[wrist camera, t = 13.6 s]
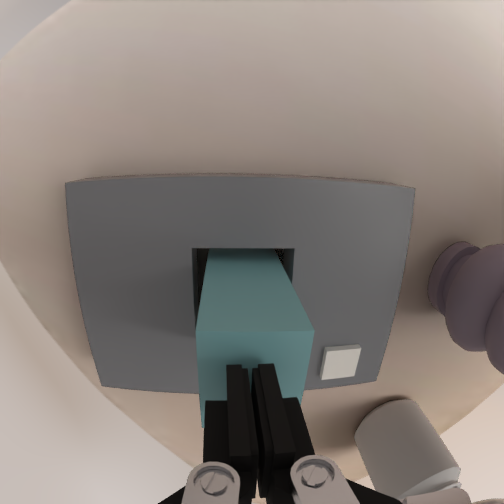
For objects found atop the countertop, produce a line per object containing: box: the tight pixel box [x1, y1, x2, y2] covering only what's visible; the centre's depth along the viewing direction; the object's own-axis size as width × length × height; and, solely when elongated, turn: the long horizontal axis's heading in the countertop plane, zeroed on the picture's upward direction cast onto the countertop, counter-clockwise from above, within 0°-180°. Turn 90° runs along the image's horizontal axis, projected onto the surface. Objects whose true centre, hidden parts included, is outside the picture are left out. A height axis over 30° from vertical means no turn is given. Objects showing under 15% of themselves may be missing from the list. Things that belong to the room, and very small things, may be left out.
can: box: [354, 399, 461, 500], centre depth 21 cm, size 8×8×12 cm
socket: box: [65, 173, 415, 394], centre depth 19 cm, size 20×14×4 cm
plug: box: [196, 248, 315, 428], centre depth 16 cm, size 4×5×10 cm
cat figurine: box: [428, 242, 504, 374], centre depth 16 cm, size 8×8×12 cm
